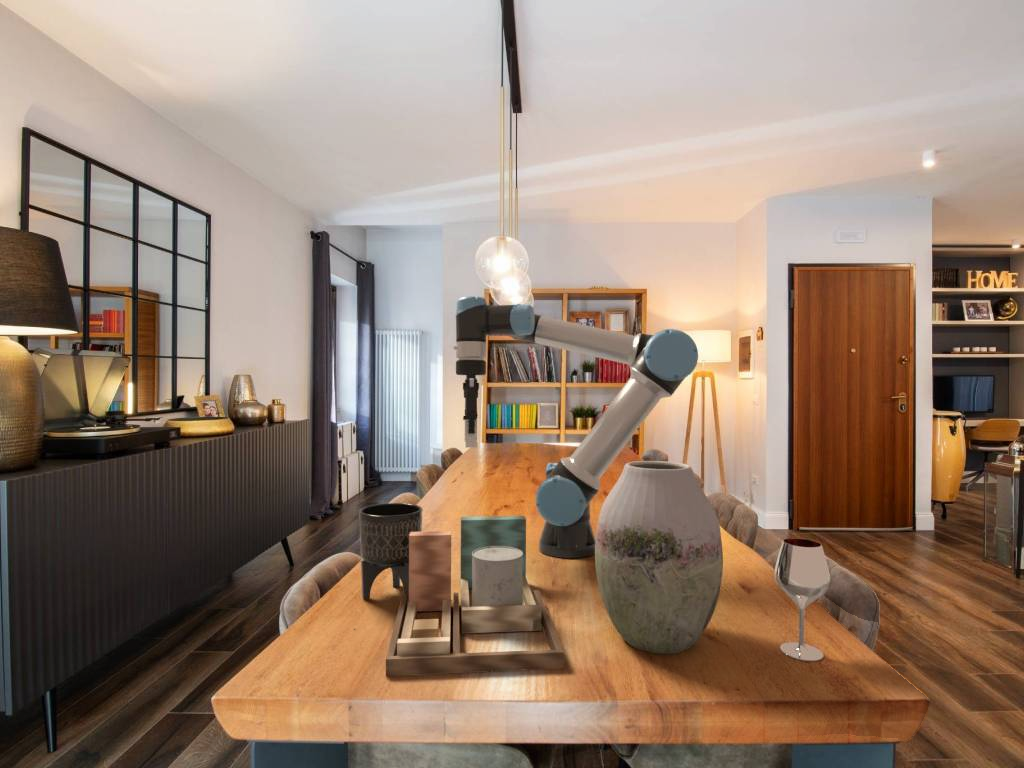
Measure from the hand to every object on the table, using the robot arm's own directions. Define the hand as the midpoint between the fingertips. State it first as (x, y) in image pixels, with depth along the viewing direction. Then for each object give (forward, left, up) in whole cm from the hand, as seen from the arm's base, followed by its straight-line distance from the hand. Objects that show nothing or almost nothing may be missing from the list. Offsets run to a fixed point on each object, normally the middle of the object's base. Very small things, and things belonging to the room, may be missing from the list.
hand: (470, 444), depth 145 cm
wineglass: (-53, +55, -29) cm, 82 cm away
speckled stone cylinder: (-4, +37, -29) cm, 47 cm away
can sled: (-4, +31, -29) cm, 42 cm away
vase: (-31, +48, -29) cm, 64 cm away
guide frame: (0, +43, -29) cm, 52 cm away
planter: (+17, +23, -29) cm, 41 cm away
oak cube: (+8, +48, -29) cm, 57 cm away
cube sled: (+8, +43, -29) cm, 52 cm away
